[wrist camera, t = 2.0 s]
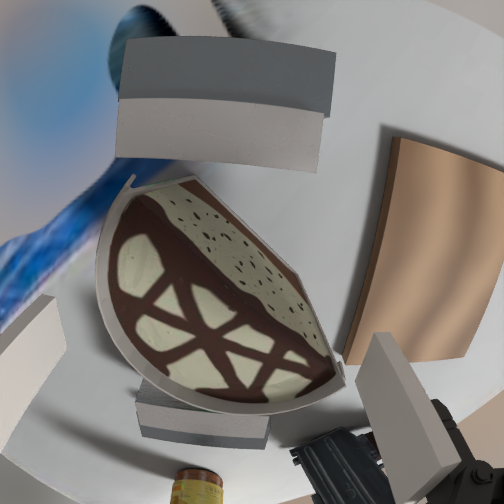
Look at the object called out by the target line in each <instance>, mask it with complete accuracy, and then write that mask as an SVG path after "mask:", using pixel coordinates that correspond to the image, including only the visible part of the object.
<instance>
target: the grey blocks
mask: <svg viewBox="0 0 504 504" xmlns="http://www.w3.org/2000/svg"><path fill="white" fill-rule="evenodd" d="M335 61H336V53H335V52H330V51H326V50H321V49H316V48H311V47H305V46H299V45H293V44H287V43H280V42H273V41H264V40H255V39H244V38H231V37H210V36H166V37H146V38H133V39H127V41H126V47H125V53H124V59H123V65H122V72H121V80H120V87H119V96H118V102H119V110H118V120H117V133H116V149H115V157H126V158H159V159H179V160H196V161H210V162H222V163H233V164H244V165H254V166H263V167H272V168H280V169H288V170H296V171H303V172H310V173H316V172H317V165H318V157H319V150H320V142H321V134H322V126H323V119H324V118H329V117H330V110H331V102H332V92H333V83H334V72H335ZM135 405H136V409H137V412H136V413H137V417H138V422H139V426H140V430H141V434H142V437H147V438H153V439H158V440H164V441H171V442H177V443H185V444H193V445H201V446H211V447H223V448H237V449H262V450H265V446H266V443H267V439H268V435H269V432H270V428H271V424H270V415H259V416H243V415H229V414H223V413H217V412H212V411H208V410H205V409H201V408H198V407H195V406H192V405H189V404H187V403H185V402H182V401H180V400H178V399H176V398H174V397H172V396H170V395H168V394H167V393H165V392H163V391H162V390H160V389H158V388H157V387H155V386H154V385H153V384H151V383H150V382H149V381H148V380H146V379H145V378H143V380H142V383H141V386H140V389H139V392H138V394H137V397H136V400H135Z"/></svg>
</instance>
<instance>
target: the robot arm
mask: <svg viewBox="0 0 504 504" xmlns="http://www.w3.org/2000/svg"><path fill="white" fill-rule="evenodd" d="M66 350H67V345H66V341H65V337H64V333H63V329H62V325H61V321H60V317H59V312H58V307H57V303H56V298H55V297H53V296H48V295H44V294H42V295H41V296H40V297H38V298H37V299H36V300H35V301H34V302H33V303H32V304H31V305H30V306H29V307H28V308H27V309H26V310H25V311H24V312H23V313H22V314H21V315H20V316H19V317H18V318H17V319H16V320H15V321H14V322H13V323H12V324H11V325H10V326H9V327H8V328H7V329H6V330H5V331H4V332H3V333H2V334H1V335H0V453H1V451H2V449H3V447H4V446H5V444H6V442H7V441H8V439H9V437H10V435H11V434H12V432H13V430H14V429H15V427H16V425H17V424H18V422H19V420H20V419H21V417H22V415H23V414H24V412H25V411H26V409H27V407H28V406H29V404H30V403H31V401H32V400H33V398H34V397H35V395H36V393H37V392H38V390H39V389H40V387H41V386H42V384H43V383H44V381H45V380H46V378H47V377H48V376H49V374H50V373H51V371H52V370H53V368H54V367H55V365H56V364H57V362H58V361H59V360H60V358H61V357H62V355H63V354H64V353H65V351H66ZM355 383H356V386H357V389H358V391H359V394H360V397H361V400H362V402H363V405H364V408H365V411H366V414H367V417H368V419H369V422H370V425H371V428H372V431H373V434H374V437H375V440H376V443H377V446H378V449H379V452H380V455H381V458H382V461H383V464H384V467H385V470H386V473H387V477H388V480H389V483H390V486H391V490H392V493H393V496H394V499H395V503H396V504H417V503H418V502H419V501H420V500H421V499H423V497H425V496H426V498H427V501H428V502H427V503H426V504H504V468H495V469H493V468H492V467H491V466H490V465H489V464H488V463H487V462H485V461H481V460H475V458H474V457H473V455H472V453H471V451H470V449H469V447H468V445H467V443H466V441H465V440H464V437H463V436H462V434H461V432H460V430H459V429H457V425H456V423H455V421H454V420H453V417H452V416H451V414H450V412H449V410H448V409H447V407H446V406H445V405H443V404H442V403H441V402H440V401H439V400H438V399H433V400H430V399H429V397H428V395H427V394H426V392H425V390H424V388H423V386H422V385H421V383H420V381H419V379H418V378H417V376H416V374H415V373H414V371H413V369H412V367H411V366H410V364H409V362H408V361H407V359H406V357H405V356H404V354H403V352H402V351H401V349H400V347H399V346H398V344H397V342H396V341H395V339H394V337H393V336H392V334H391V333H390V332H374V333H373V336H372V339H371V341H370V344H369V347H368V349H367V352H366V355H365V357H364V360H363V362H362V365H361V367H360V370H359V372H358V375H357V377H356V379H355Z"/></svg>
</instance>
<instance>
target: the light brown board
mask: <svg viewBox="0 0 504 504" xmlns="http://www.w3.org/2000/svg"><path fill="white" fill-rule="evenodd" d="M503 261H504V173H503V172H501V171H498V170H496V169H494V168H491V167H489V166H486V165H484V164H481V163H478V162H476V161H473V160H470V159H468V158H465V157H462V156H459V155H456V154H453V153H451V152H448V151H445V150H442V149H438V148H435V147H432V146H429V145H426V144H422V143H419V142H416V141H412V140H409V139H405V138H401V137H393V140H392V147H391V154H390V161H389V167H388V174H387V180H386V185H385V191H384V196H383V202H382V207H381V212H380V217H379V222H378V226H377V231H376V235H375V240H374V244H373V249H372V253H371V257H370V261H369V265H368V269H367V273H366V277H365V280H364V284H363V288H362V291H361V295H360V299H359V302H358V306H357V309H356V312H355V316H354V319H353V322H352V326H351V329H350V332H349V335H348V338H347V341H346V344H345V347H344V350H343V353H342V358H343V360H344V363H345V365H362V362H363V360H364V357H365V355H366V352H367V349H368V347H369V344H370V341H371V339H372V336H373V333H374V332H390V333H391V334H392V336H393V337H394V339H395V341H396V342H397V344H398V346H399V347H400V349H401V351H402V352H403V354H404V356H405V357H406V359H407V361H408V362H409V363H410V362H423V361H434V360H444V359H453V358H462V357H464V356H465V354H466V352H467V350H468V348H469V346H470V344H471V342H472V340H473V337H474V335H475V333H476V331H477V329H478V327H479V324H480V322H481V320H482V317H483V315H484V313H485V310H486V308H487V305H488V303H489V300H490V298H491V295H492V293H493V290H494V287H495V285H496V282H497V279H498V276H499V273H500V270H501V267H502V264H503Z"/></svg>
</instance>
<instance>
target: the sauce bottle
mask: <svg viewBox="0 0 504 504" xmlns="http://www.w3.org/2000/svg"><path fill="white" fill-rule="evenodd" d="M222 487H223V481H222V479H221V478H220V477H219V476H218V475H216V474H215V473H212V472H209V471H206V470H198V469H186V470H182V471H180V472H178V473H177V474H176V476H175V482H174V483H173V487H172V494H171V501H170V504H223V489H222Z"/></svg>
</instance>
